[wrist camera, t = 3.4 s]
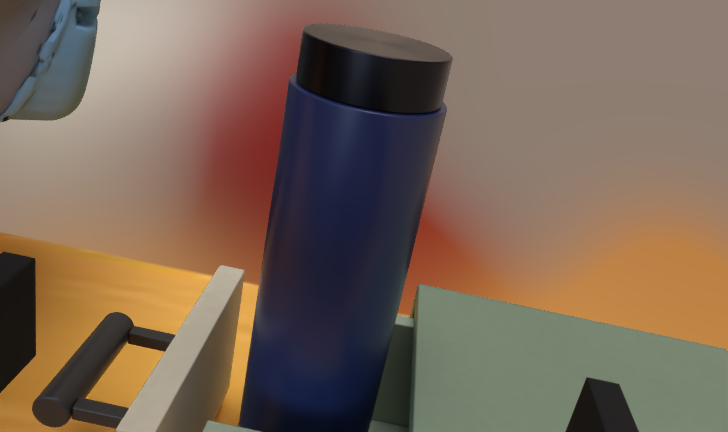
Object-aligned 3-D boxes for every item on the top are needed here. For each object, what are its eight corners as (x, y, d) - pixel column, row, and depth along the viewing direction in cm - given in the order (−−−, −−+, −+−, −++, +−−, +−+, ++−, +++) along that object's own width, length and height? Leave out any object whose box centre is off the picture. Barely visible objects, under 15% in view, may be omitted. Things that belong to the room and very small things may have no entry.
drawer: (-10, 554, 24) (-17, 400, 21) (124, 364, 34) (131, 245, 32) (485, 662, 24) (541, 521, 21) (468, 438, 34) (505, 325, 32)
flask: (216, 505, 26) (281, 36, 19) (249, 417, 31) (311, 15, 24) (348, 534, 26) (462, 74, 19) (361, 441, 31) (456, 45, 24)
